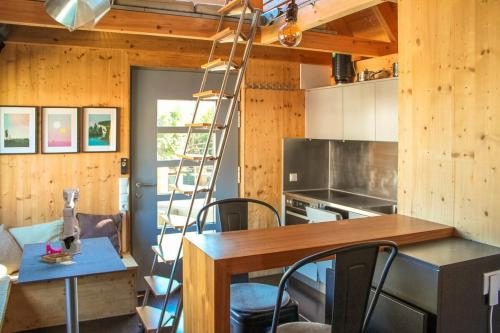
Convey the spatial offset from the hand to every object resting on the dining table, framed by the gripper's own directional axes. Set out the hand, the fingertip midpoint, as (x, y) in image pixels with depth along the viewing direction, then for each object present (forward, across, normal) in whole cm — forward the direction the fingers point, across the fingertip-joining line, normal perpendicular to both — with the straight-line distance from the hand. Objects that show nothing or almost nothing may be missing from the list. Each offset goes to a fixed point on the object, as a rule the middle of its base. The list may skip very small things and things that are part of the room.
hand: (69, 248), depth 278 cm
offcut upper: (+7, -8, -9) cm, 14 cm away
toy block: (+9, -22, -23) cm, 33 cm away
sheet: (+2, 0, 0) cm, 2 cm away
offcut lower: (+8, -8, -10) cm, 16 cm away
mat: (+9, 0, 0) cm, 9 cm away
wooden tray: (+9, -5, -12) cm, 15 cm away
